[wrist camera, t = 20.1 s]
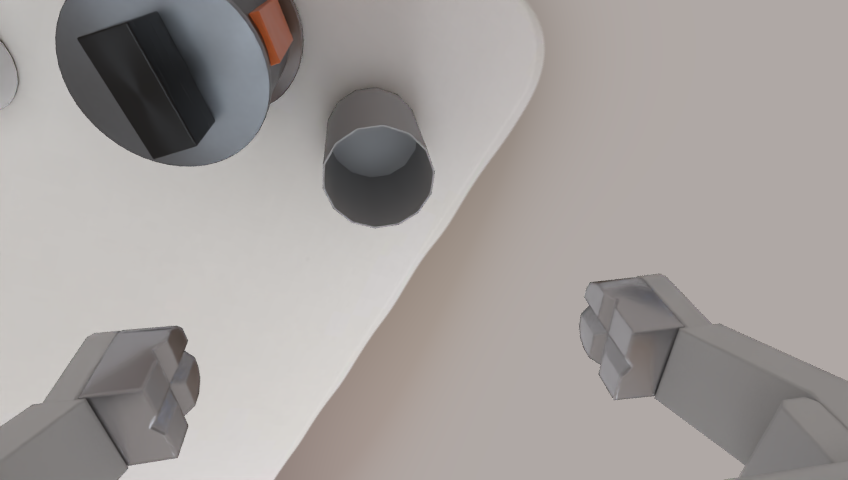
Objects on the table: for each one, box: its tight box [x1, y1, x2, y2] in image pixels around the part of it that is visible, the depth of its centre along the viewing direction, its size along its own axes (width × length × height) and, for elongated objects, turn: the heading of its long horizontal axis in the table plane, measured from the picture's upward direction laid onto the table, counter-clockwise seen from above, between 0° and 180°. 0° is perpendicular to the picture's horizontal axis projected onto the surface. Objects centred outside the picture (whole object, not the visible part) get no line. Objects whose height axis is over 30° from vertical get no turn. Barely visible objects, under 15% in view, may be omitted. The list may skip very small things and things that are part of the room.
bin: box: [55, 0, 293, 166], centre depth 29 cm, size 11×11×17 cm
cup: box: [323, 88, 435, 228], centre depth 39 cm, size 8×8×10 cm
